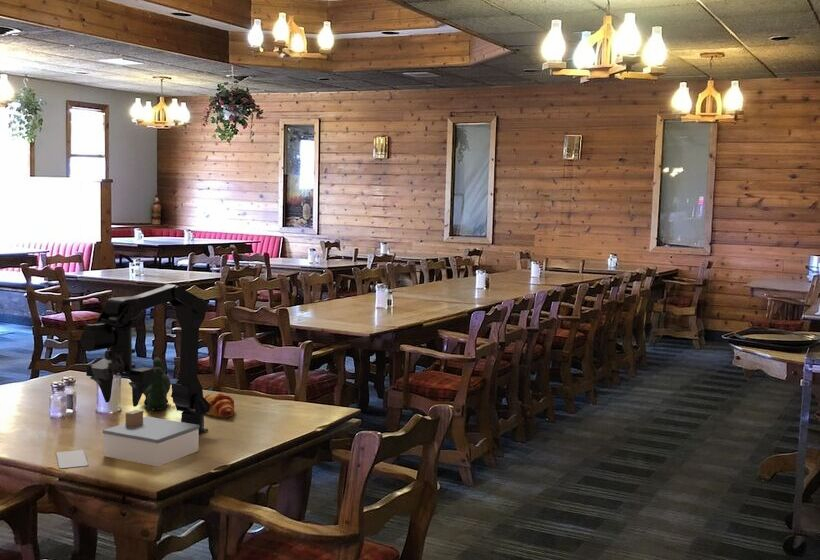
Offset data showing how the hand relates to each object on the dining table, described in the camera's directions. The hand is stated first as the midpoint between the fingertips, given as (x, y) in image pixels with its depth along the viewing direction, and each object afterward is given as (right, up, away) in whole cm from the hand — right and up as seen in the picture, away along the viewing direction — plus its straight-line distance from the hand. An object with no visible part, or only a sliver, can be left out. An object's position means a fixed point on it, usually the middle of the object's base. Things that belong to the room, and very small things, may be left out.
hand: (121, 404), depth 227 cm
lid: (+8, -7, +1) cm, 11 cm away
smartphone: (-11, -14, -5) cm, 19 cm away
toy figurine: (-6, -9, +51) cm, 52 cm away
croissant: (+15, -10, +47) cm, 51 cm away
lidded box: (+8, -13, +2) cm, 15 cm away
